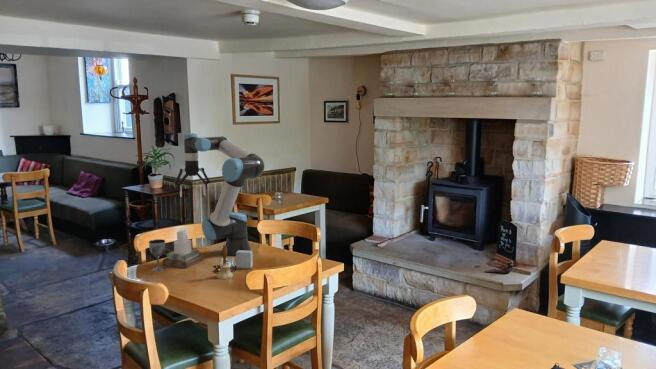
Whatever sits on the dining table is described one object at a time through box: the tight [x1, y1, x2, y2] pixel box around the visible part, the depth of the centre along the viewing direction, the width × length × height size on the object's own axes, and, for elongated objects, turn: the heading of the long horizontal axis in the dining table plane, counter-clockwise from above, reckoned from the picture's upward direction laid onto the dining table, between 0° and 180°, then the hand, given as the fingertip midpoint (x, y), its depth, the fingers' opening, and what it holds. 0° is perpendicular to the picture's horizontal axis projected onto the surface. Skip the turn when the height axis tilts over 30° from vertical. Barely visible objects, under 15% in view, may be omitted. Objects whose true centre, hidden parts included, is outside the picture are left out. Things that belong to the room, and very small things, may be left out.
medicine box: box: [235, 250, 254, 270], centre depth 266 cm, size 8×4×9 cm, turn 84°
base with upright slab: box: [173, 227, 192, 254], centre depth 273 cm, size 9×9×12 cm
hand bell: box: [216, 244, 234, 280], centre depth 252 cm, size 8×8×16 cm
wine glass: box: [148, 238, 166, 272], centre depth 262 cm, size 8×8×15 cm
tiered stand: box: [162, 249, 204, 269], centre depth 274 cm, size 15×15×6 cm
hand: (192, 195), depth 298 cm, fingers open, 13 cm apart
